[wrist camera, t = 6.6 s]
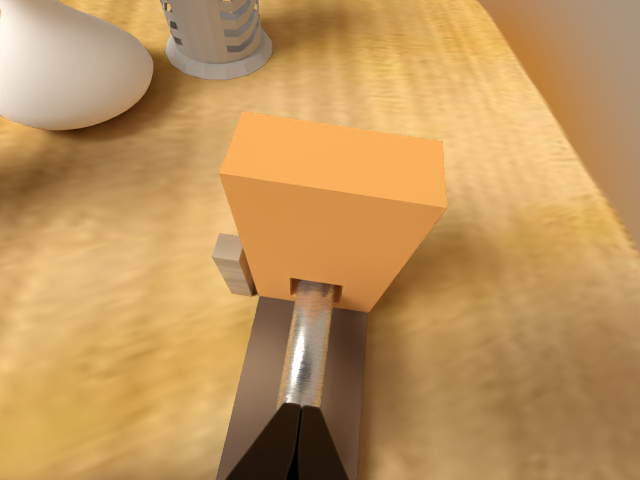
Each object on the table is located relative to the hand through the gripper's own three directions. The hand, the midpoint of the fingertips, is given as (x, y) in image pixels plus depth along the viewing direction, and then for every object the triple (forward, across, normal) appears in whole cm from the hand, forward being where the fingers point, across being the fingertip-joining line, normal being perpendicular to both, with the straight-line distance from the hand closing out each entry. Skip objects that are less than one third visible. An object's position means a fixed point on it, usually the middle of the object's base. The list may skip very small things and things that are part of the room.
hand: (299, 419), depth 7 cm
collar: (+10, 0, +1) cm, 11 cm away
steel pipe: (+8, 0, +2) cm, 8 cm away
